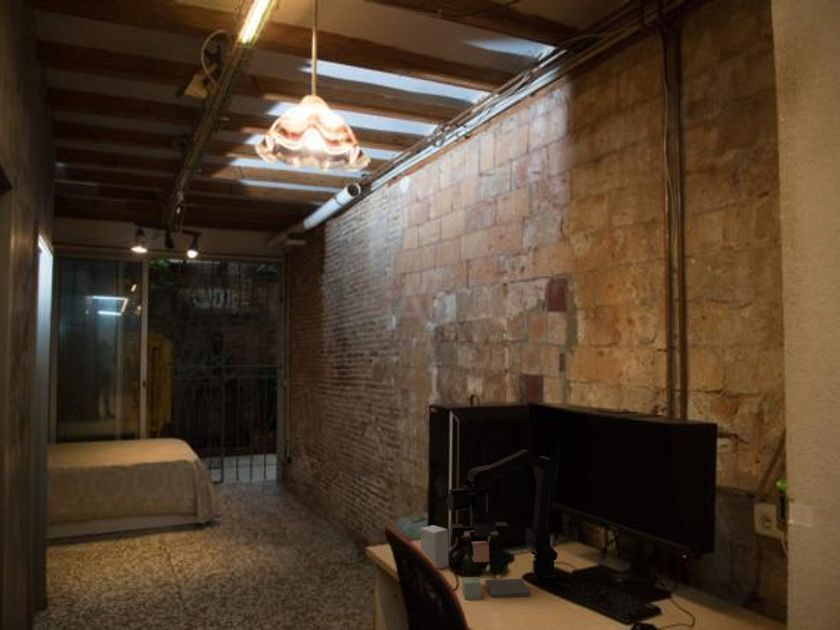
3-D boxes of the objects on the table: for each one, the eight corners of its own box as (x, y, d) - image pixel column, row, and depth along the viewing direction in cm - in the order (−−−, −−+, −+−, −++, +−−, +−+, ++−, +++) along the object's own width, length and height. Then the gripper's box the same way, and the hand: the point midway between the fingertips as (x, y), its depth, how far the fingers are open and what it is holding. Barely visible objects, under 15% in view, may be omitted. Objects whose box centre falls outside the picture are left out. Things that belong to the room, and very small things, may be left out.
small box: (448, 566, 229) (448, 529, 230) (435, 570, 225) (434, 532, 226) (434, 560, 236) (433, 524, 236) (420, 564, 232) (420, 527, 232)
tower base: (521, 582, 213) (521, 578, 213) (529, 596, 201) (529, 592, 202) (485, 583, 213) (485, 579, 213) (491, 597, 201) (491, 593, 201)
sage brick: (478, 593, 205) (478, 577, 205) (480, 599, 200) (480, 582, 200) (462, 593, 205) (462, 577, 205) (464, 599, 200) (464, 583, 200)
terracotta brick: (486, 556, 214) (486, 541, 214) (489, 561, 209) (488, 545, 209) (471, 557, 214) (471, 541, 214) (473, 562, 209) (473, 546, 209)
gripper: (453, 515, 204) (454, 565, 203) (512, 513, 205) (513, 563, 204) (449, 506, 215) (450, 554, 214) (505, 504, 216) (506, 551, 215)
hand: (480, 556), depth 212 cm, fingers closed on terracotta brick, 5 cm apart
